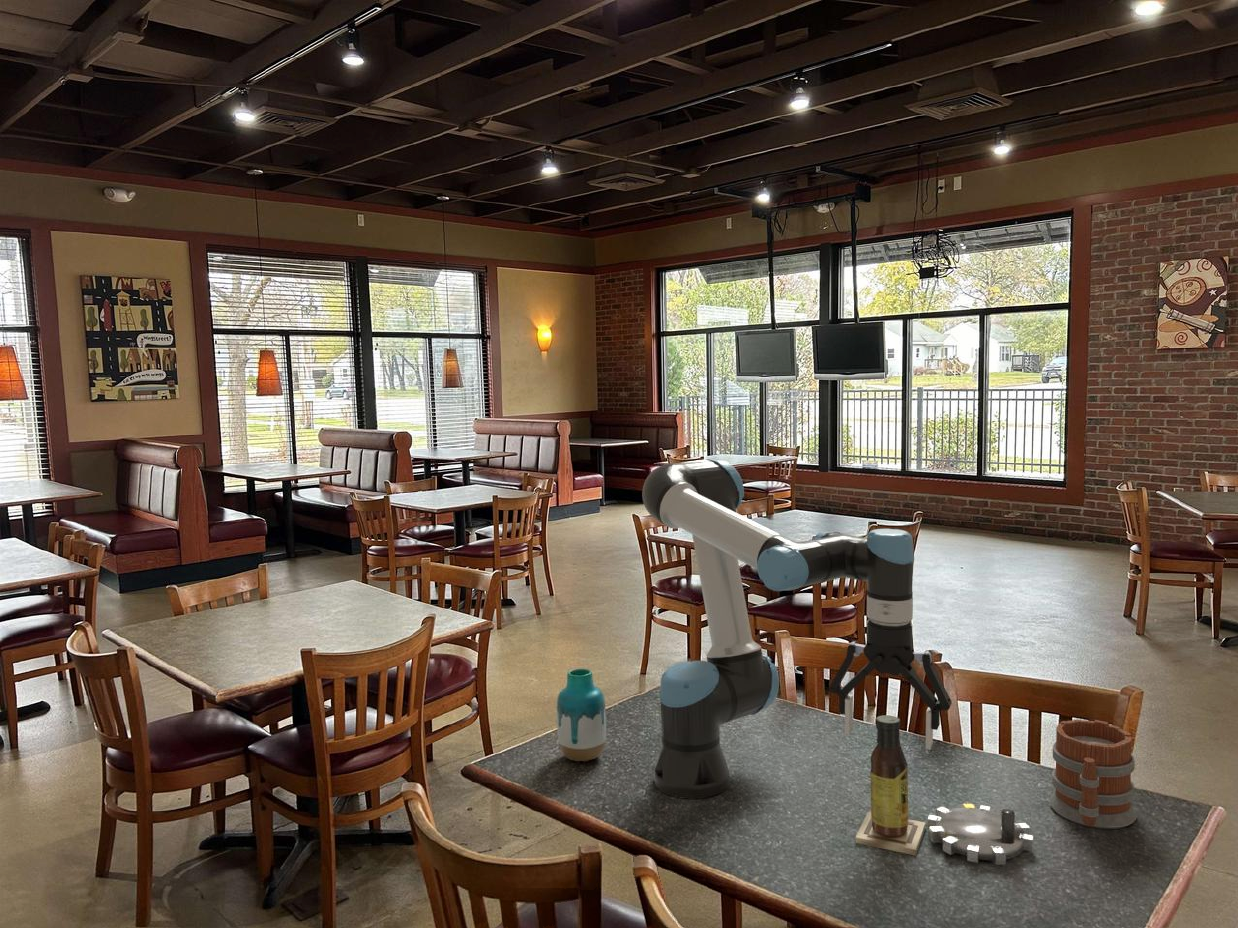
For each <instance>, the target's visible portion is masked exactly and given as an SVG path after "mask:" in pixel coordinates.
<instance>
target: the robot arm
mask: <svg viewBox="0 0 1238 928" xmlns="http://www.w3.org/2000/svg"><path fill="white" fill-rule="evenodd" d="M744 487H745V486H744V483H743V480H742V477H741V475H740V473H739V472H738V469H736V468H735V466H733V465H731V464H730V463H729V462H728V461H726V460H723V459H714V458H713V459H709V458H706V459H699V460H691V461H684V462H683V461H682V462H672V463H666V464H665V463H664V464H662V465H660V466H658V467H657V468H655V469H653V470H652V471H651V472H650V473H649V474H648V476H647V477H646V479H645V480H644V483H643V486H642V492H641V493H642V496H641V497H642V503H643V505H644V508H645V509H646V511H647V512H648V514H649V515H650V516H651V517H652V518H653V519H655V521H657V522H659V523H660V524H662V525H663V526H666V527H668V528H669V529H675V530H676V529H682V530H684V531H685V532H687V533H689V534H691V535H692V542H693V547H694V553H695V559H696V563H697V570H698V575H699V581H700V586H701V590H702V591H701V592H702V598H703V603H704V608H705V615H706V620H707V626H708V632H709V637H710V642H711V647H710V648H709V650H708V652H707V653H706V660H707V661H706V660H692V661H683V662H679V663H677V664H674V665H671V666H670V667H669V668H667V669H666V670H665V671H664V672H663V673H662V675H661V678H660V685H659V686H660V689H659V701H660V719H661V720H660V725H661V729H660V730H661V747H660V750H659V753H658V756H657V761H656V764H655V766H654V770H653V780H654V781H653V782H655V783H654V786H655V785H656V786H657V787H656V786H655V787H656V788H657V789H658V790H659V791H660V792H662V793H664V794H665V793H666V794H665V795H668V796H671V797H674V796H677V797H676V798H679V797H683V798H682V799H688V798H691V800H693V799H696V800H697V799H705V798H711V797H714V796H717V795H719V794H721V793H722V792H723V793H724V791H725V790H727V789H728V787H729V786H730V769H729V766H728V763H727V761H726V758H725V755H724V752H723V749H722V747H721V742H720V741H721V740H720V739H721V738H720V734H721V733H720V726H721V725H724V724H726V723H729V722H732V721H735V720H738V719H742V718H744V717H747V716H753V715H756V714H759V713H761V712H762V711H764V710H765V709H768V708H769V707H770V706H772V705H773V703H774V702H775V700H776V699H777V696H778V693H779V687H780V678H779V672H778V670H777V669H778V668H777V667H776V665H775V664H774V663H772V659H771V658H770V656H768V655H767V654H765V653H763V650H762V646H761V645H760V644H759V643H757V642H756V641H754V639H753V636H752V631H751V624H750V620H749V619H750V618H749V615H748V609H747V603H746V602H747V601H746V598H745V593H744V592H745V591H744V587H743V586H744V585H743V581H742V576H741V570H740V565H739V561H740V562H743V563H744V564H746V565H747V566H750V567H751V568H753V569H755V570H757V573H758V576H759V577H758V578H759V579H760V581H762V582H763V583H764V586H765V587H766V588H768V589H769V590H771V591H773V592H782V591H794V590H797V589H799V588H803V587H807V586H811V585H815V584H820V583H825V582H828V581H832V580H836V579H842V578H845V579H852V580H857V581H861V582H866V617H867V618H868V620H866V642H865V645H864V644H859V643H858V642H857V641H856V640H852V641H851V642H850V643H849V644H848V646H847V649H846V656H845V659H844V660H843V662H842V663H841V665H840V667H839V669H838V671H837V673H836V675H835V676H834V678H833V680H832V681H831V683H830V685H829V686H828V691H829V693H831V694H835V695H837V696H838V697H839V703H838V708H839V711H838V712H839V715H841V716H842V715H843V716H844V735H845V736H850V735H851V733H852V732H853V730H854V727H853V726H854V724H853V723H854V722H853V721H854V713H853V712H854V711H853V710H854V705H853V704H854V695H853V694H852V693H851V692H852V691H853V690H854V689H855V688H856V687H857V686H858V685H859V684H860V683H861V682H862V681H863V680H864V679H865V678H867V676H868V675H869V674H871V673H872V671H876V672H878V674H881V675H884V674H888V675H892V676H896V677H897V676H898V675H901V676H902V677H903V678H904V679H905V680H906V681H907V683H909V684H910V685H911V687H912V688H913V689H914V691H915V692H916V693H917V694H918V696H919V697H920V698H921V700H922V701H923V702H924V703H925V705H926V706H927V709H926V712H925V750H928V751H929V750H931V748H932V746H933V744H934V743H933V741H934V740H933V737H934V735H933V734H934V730H935V731H937V730H938V729H939V726H940V720H941V719H940V718H941V714H940V713H941V711H949V710H950V708H951V706H952V703H953V702H952V699H951V698H950V695H949V693H948V691H947V689H946V688H945V685H944V683H943V681H942V679H941V676H940V675H939V673H938V670H937V669H936V667H935V665H934V661H933V653H932V651H931V650H930V649H926V650H925V651H915V650H914V648H913V623H912V622H911V621H912V620H913V618H914V615H913V614H914V613H913V612H914V597H913V593H914V592H913V585H914V584H913V583H914V582H913V581H914V579H913V578H914V562H915V555H914V540H913V535H912V534H911V533H909V532H908V531H907V530H903V529H898V528H896V529H895V528H894V529H892V528H877V529H876V528H875V529H871V530H870V531H869V532H868V533H867V538H866V537H862V536H857V535H855V536H854V535H850V534H845V533H841V532H838V531H832V532H831V531H821V532H818V533H817V534H816V535H815V536H814V537H812V538H811V539H810V540H809V539H808V540H805V541H795V540H792V539H790V538H788V537H786V536H784V535H782V534H780V533H778V532H776V531H774V530H771V528H770V529H769V528H768V527H766V526H763V525H762V524H760V523H757V522H756V521H754V520H751V519H749V518H748V517H745V516H744V515H741V514H740V513H738V512H737V509H738V508H739V507H740V506H742V504H743V500H742V499H744V496H745V489H744ZM861 653H863V654H864V656H865V658H866V659H867V661H868V662H867V663H866V665H865V666H863V667H862V668H861V669H860V670H859V671H858V672H857V673H856V674H855V675H854V676H853V677H852V678H851V679H850V680H848V682H847V683H846V684H845V685H844V686H842V685H841V683H842V682H843V680H844V678H845V676H846V674H847V673H848V671H849V669H850V667H852V663H853V662H854V660H855V658H856V657H857V658H858V657H859V656H860V655H861ZM914 660H917V662H918V664H919V665H920V666H922V667H923V671H924V672H925V673H924V674H925V675H926V677H927V679H928V681H929V683H930V686H931V687H932V689H933V691H934V693H935V694H934V693H933V692H932V691H931V690H930V688H929V687H928V686H927V684H926V683H925V682H924V681H923V680H922V679H921V677H920V676H919V675H918V673H917V672H916V670H915V668H914V666H913V665H912V664H911V663H913V662H914ZM935 695H936V696H935Z"/></svg>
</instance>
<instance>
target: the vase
mask: <svg viewBox="0 0 1238 928" xmlns="http://www.w3.org/2000/svg"><path fill="white" fill-rule="evenodd" d="M566 674H567V675H566V687H564V688H563V689H561V691H559V692H558V696H557V700H556V725H557V726H556V729H557V731H556V732H557V737H558V738H557V739H558V744H559V745H558V746H559V748H560V750H561V753H562V755H564V757H566V758H567V759H569V760H571V761H573V760H574V762H579V761H583V762H590V761H592V759H593V760H596V759H597V758H598V757H599V756H601V754H602V753H603V752H604V749H605V747H606V743H607V711H606V701H605V696H604V693H603V692H602V689H600V688H599V687H597V686H595V684H594V679H593V671H592V670H591V669H588V668H582V667H581V668H579V667H578V668H573V669H570V670H569V671H568V672H567V673H566ZM589 760H590V761H589Z"/></svg>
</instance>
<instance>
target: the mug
mask: <svg viewBox="0 0 1238 928" xmlns="http://www.w3.org/2000/svg"><path fill="white" fill-rule="evenodd" d="M1055 728H1056V729H1055V732H1056V733H1055V737H1056V739H1055V741H1054V743H1053V744H1052V759H1053V761H1055V768H1054V769H1053V771H1052V773H1051V774H1052V780H1051V781H1052V782H1051V783H1052V785H1053V787H1054V791H1053V793H1052V794H1051V796H1050V797H1049V802H1048V803H1049V805H1050V807H1051V809H1053V810H1054V811H1055V812H1056V813H1057V814H1058V815H1059V816H1061V817H1062V818H1063V819H1066V820H1068V821H1069V822H1072V823H1074V824H1077V825H1081V826H1084V827H1089V828H1095V829H1104V830H1116V829H1122V828H1125V827H1128V826H1130V825H1132V824H1133V823H1135V822H1136V819H1137V816H1138V815H1137V813H1136V811H1135V809H1134V807H1133V806H1132V803H1131V801H1133V799H1134V797H1135V785H1134V782H1133V781H1132V773H1133V772H1134V771H1135V768H1136V767H1135V764H1136V762H1135V760H1136V758H1135V755H1134V754H1133V752H1132V735H1131V733H1130V732H1128V731H1126V730H1124V729H1123V728H1121V727H1120V726H1117V725H1112V724H1110V722H1107V721H1104V720H1103V721H1102V720H1097V719H1094V721H1093V720H1084V719H1083V720H1082V719H1073V720H1067V721H1066V720H1063V721H1060V722H1059V723H1058V724H1057V726H1056V727H1055Z"/></svg>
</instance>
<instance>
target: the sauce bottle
mask: <svg viewBox="0 0 1238 928" xmlns="http://www.w3.org/2000/svg"><path fill="white" fill-rule="evenodd" d="M875 718H876V719H875V726H876V727H875V728H876V730H877V734H876V735H877V738H876V743H877V744H876V746H875V747H874V749H873V750H872V753H871V756H870V770H869V771H870V807H871V808H870V812H871V819H872V827H873V829H874V830H875V831H876V832H877V833H879V834H881V835H884V836H889V837H898V836H901V835H904V834H905V833H906V832H907V827H908V819H909V781H908V780H909V778H908V777H909V772H908V771H909V770H908V762H907V760H906V756H905V753H904V751H903V748H902V746H901V745H902V744H901V741H900V735H901V734H900V729H901V720H900V718H899V717H897V716H894V715H890V714H889V715H887V714H885V715H883V714H882V715H879V716H877V717H875Z"/></svg>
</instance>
